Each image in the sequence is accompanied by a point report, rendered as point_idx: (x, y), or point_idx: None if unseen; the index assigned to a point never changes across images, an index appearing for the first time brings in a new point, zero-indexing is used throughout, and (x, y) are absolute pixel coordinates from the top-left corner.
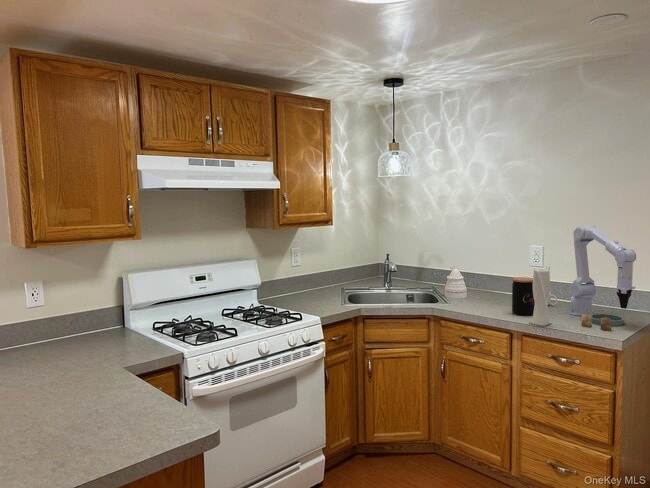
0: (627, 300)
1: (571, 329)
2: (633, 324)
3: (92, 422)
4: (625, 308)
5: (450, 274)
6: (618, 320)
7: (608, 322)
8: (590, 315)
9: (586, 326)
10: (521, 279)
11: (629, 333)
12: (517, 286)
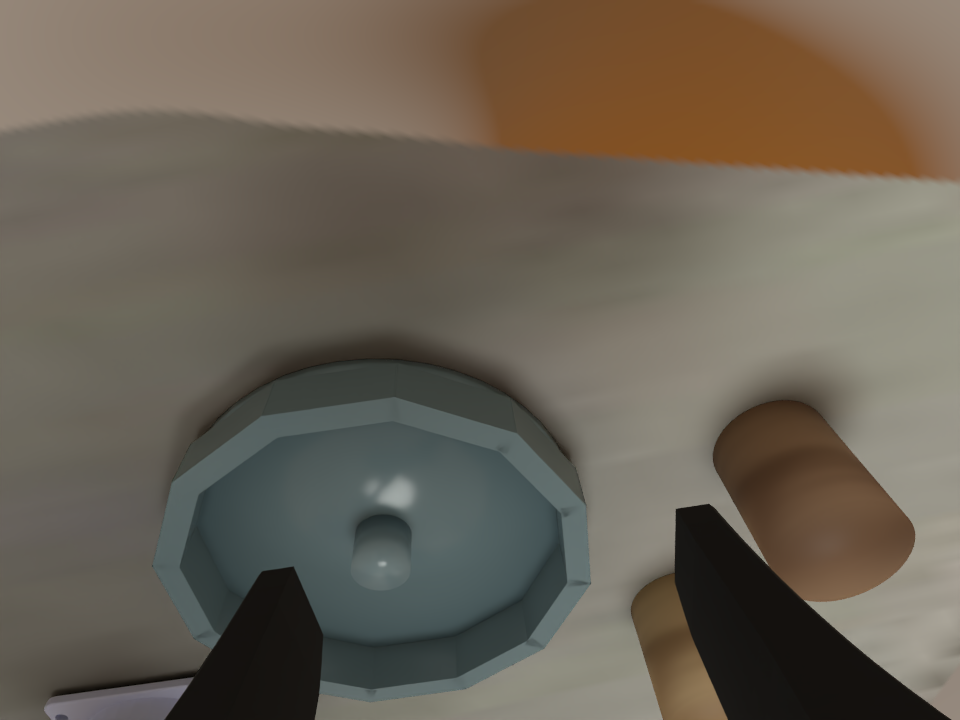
0: (888, 685)
1: (880, 644)
2: (244, 255)
3: None
4: (712, 515)
5: None
6: (474, 438)
7: (884, 490)
8: (714, 699)
9: None
10: None
11: (864, 186)
12: None
